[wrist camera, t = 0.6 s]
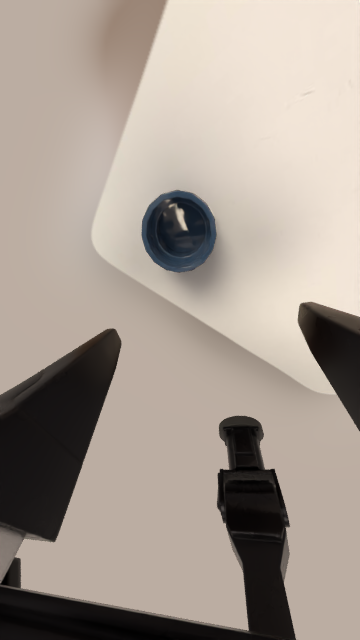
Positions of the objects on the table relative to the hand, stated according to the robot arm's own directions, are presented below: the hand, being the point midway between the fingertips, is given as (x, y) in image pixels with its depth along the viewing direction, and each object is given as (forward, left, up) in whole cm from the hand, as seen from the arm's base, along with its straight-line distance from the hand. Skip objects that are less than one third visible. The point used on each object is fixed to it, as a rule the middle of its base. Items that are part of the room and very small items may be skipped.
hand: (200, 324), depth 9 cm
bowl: (+3, +1, -13) cm, 14 cm away
